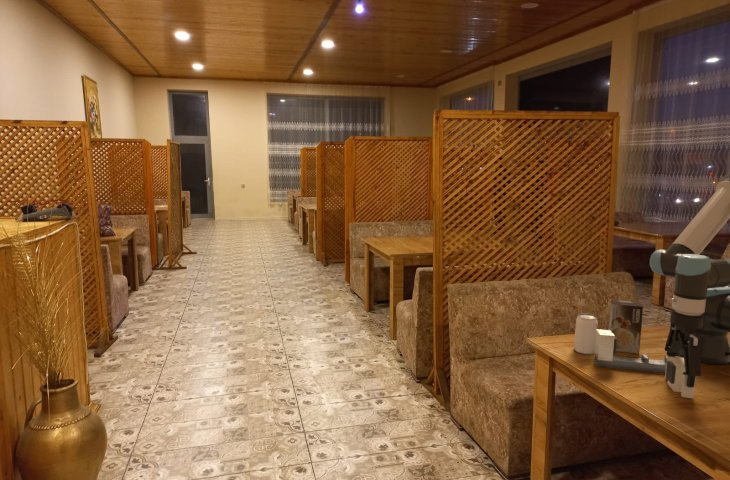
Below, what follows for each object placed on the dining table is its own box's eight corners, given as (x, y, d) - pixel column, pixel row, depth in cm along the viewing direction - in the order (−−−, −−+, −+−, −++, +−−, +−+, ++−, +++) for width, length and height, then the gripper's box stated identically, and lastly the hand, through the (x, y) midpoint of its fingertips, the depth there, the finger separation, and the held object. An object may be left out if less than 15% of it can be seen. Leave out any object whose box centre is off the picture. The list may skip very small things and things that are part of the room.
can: (597, 355, 163) (600, 319, 161) (576, 353, 164) (578, 318, 162) (592, 348, 169) (595, 313, 167) (572, 346, 170) (574, 312, 168)
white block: (682, 384, 142) (686, 358, 141) (690, 392, 137) (693, 365, 136) (664, 383, 143) (667, 356, 142) (670, 391, 138) (674, 363, 137)
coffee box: (636, 347, 170) (641, 301, 167) (639, 354, 164) (644, 306, 161) (606, 343, 173) (610, 298, 171) (608, 350, 167) (612, 303, 165)
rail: (666, 367, 154) (669, 334, 152) (672, 374, 149) (676, 340, 147) (593, 361, 158) (596, 329, 156) (597, 367, 153) (600, 334, 152)
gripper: (657, 298, 149) (649, 369, 152) (690, 324, 126) (680, 405, 130) (685, 300, 147) (676, 371, 151) (723, 326, 124) (712, 409, 128)
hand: (678, 387), depth 140 cm, fingers open, 11 cm apart
